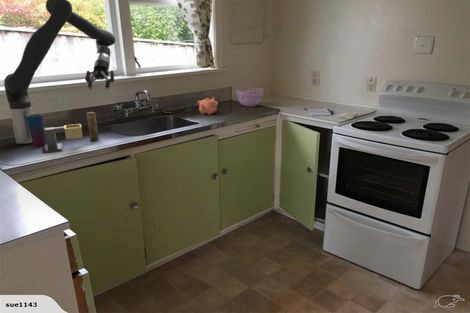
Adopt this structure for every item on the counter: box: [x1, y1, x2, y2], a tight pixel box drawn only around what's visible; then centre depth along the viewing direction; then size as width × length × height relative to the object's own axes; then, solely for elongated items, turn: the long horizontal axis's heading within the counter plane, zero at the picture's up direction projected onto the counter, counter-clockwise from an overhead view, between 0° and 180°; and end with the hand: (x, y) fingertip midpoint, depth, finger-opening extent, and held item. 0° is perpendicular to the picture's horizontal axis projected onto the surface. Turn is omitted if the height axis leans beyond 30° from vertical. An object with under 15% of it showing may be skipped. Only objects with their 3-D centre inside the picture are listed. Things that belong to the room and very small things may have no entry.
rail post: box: [86, 111, 100, 142], centre depth 189 cm, size 4×4×14 cm
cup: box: [26, 113, 46, 148], centre depth 180 cm, size 7×7×15 cm
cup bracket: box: [42, 123, 84, 154], centre depth 177 cm, size 18×10×10 cm, turn 113°
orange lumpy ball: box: [197, 96, 219, 116], centre depth 247 cm, size 14×12×10 cm
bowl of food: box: [235, 87, 265, 108], centre depth 271 cm, size 20×20×12 cm
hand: (98, 87), depth 197 cm, fingers open, 8 cm apart
